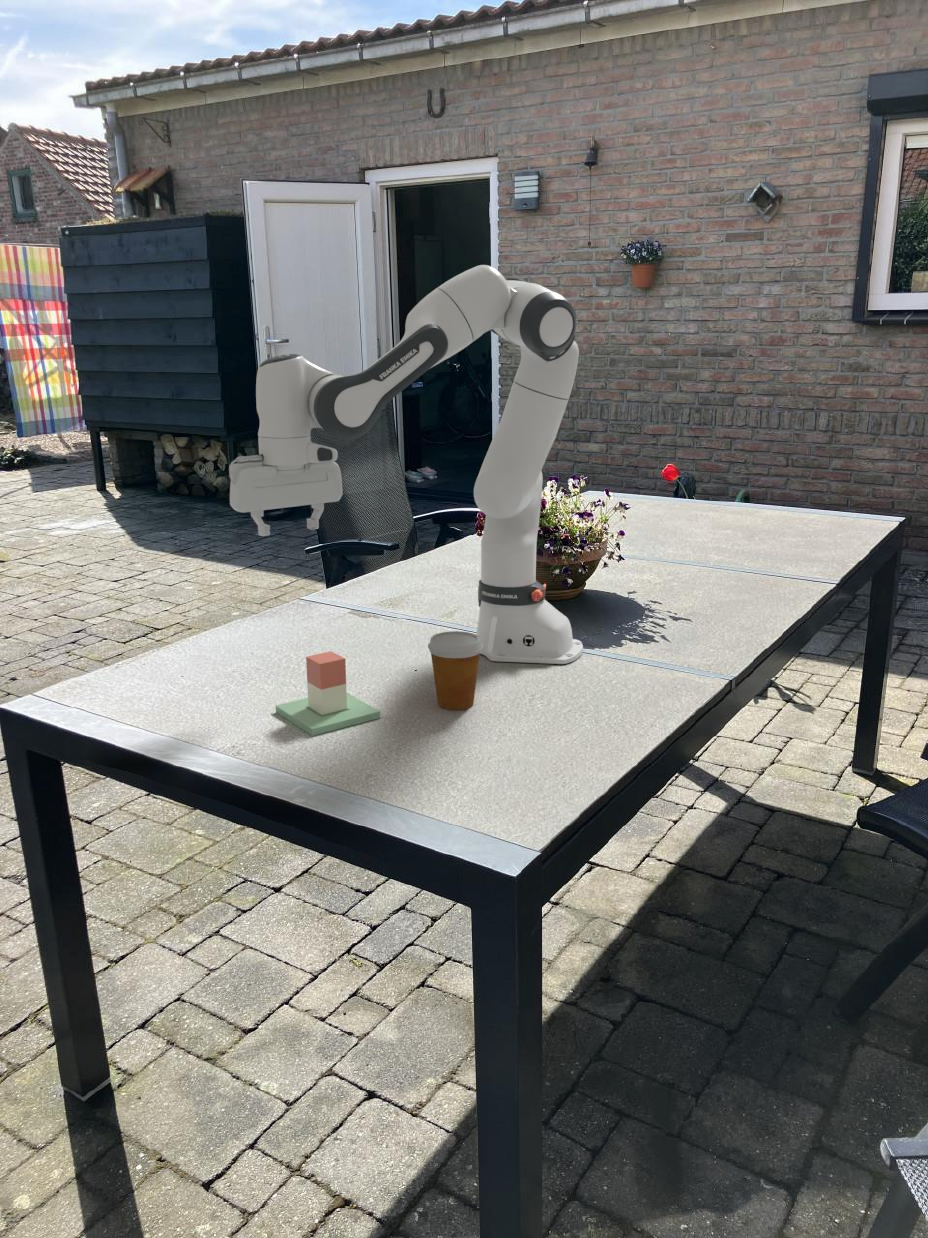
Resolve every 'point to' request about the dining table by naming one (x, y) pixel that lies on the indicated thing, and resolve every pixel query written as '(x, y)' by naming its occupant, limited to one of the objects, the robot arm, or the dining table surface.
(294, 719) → the baseplate
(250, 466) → the robot arm
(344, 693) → the pink and cream block
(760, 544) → the dining table surface
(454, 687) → the disposable coffee cup
